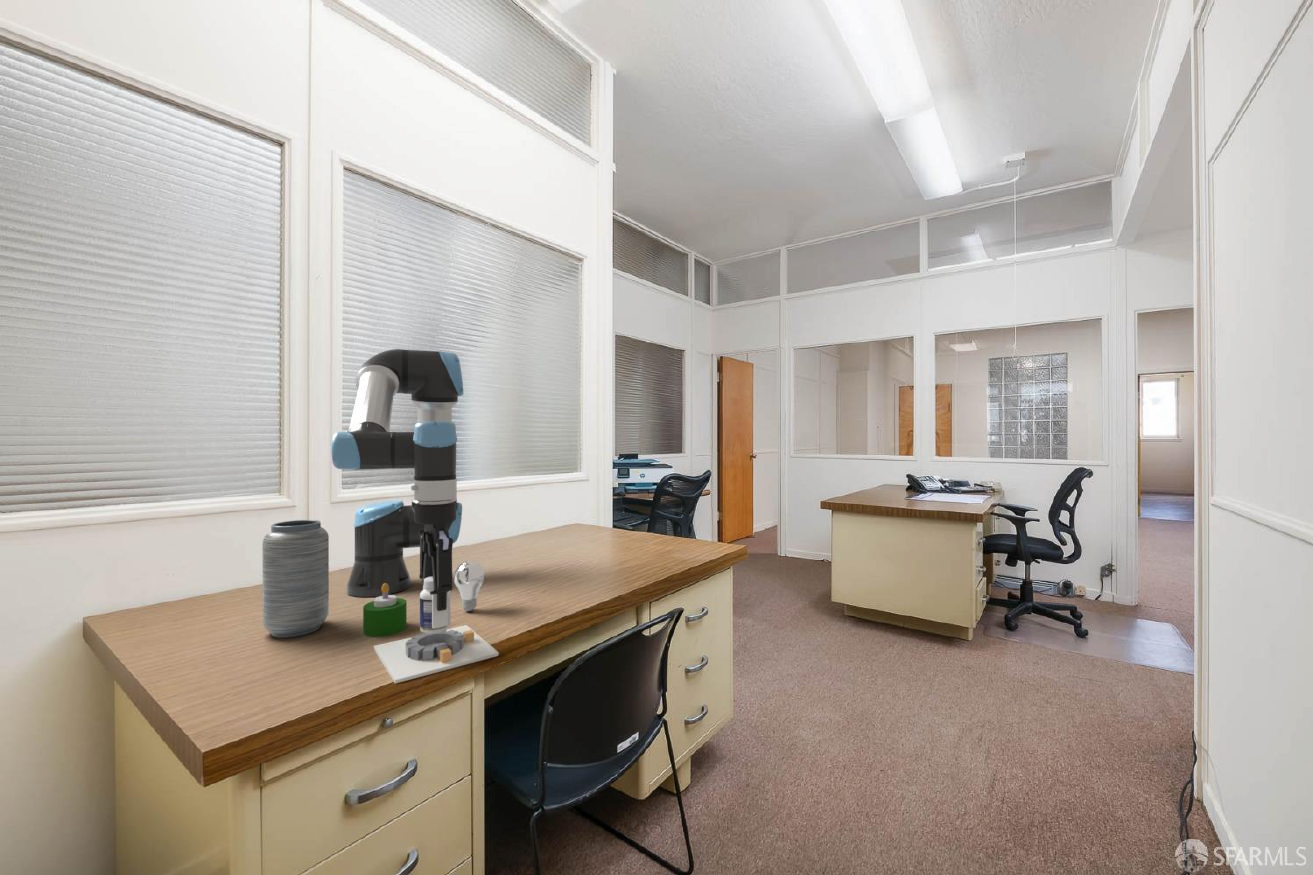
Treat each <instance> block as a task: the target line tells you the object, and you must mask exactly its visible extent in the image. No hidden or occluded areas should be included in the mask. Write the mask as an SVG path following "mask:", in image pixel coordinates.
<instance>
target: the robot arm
mask: <svg viewBox="0 0 1313 875" xmlns="http://www.w3.org/2000/svg"><path fill="white" fill-rule="evenodd" d="M355 388H356V389H357V394H356V398H355V402H354V407H353V410H352V414H351V419H350V423H349V427H348V430H345V431H337V432H335V433H334V434H333V436H332V439H331V448H330V449H331V450H330V452H331V462H332V465H333V466H334V467H335V468H336V469H339V470H355V471H360V470H381V469H383V470H384V469H385V470H387V469H394V470H395V469H414V470H413V471H414V475H413V478H414V480H413V483H414V485H411V487H410V490H411V491H414V492H413V495H414V496H413V497H412V498H411V505H405V504H404V501H403V500H398V499H396V500H388V501H381V502H375V503H374V502H373V503H371V504H366V505H364V506H360V507H359V508H358V509H357V510H356V511H355V514H354V523H353V528H354V562H353V566H352V569H351V572H350V575H349V578H348V581H347V583H346V593H347V595H349V596H352V597H360V598H363V597H364V598H365V597H366V598H368V597H370V598H371V597H379V596H382V590H381V589H382V585H383V584H384V583H387V584H388V586H389V591H388V595H393V594H395V593H399V592H402V591H404V590H407V589H408V588H409V587H410V586H411V576H410V573H409V570H408V567H407V565H406V563H405V559H404V549H410V548H411V549H413V548H419V577H418V578H419V579H420V580H421V583H422V591H423V590H424V589H425V588H424V579H425V578H427V577H431V576H433V584H434V591H431V592H430V595H432V628H433V629H434V628H439V627H443V626H448V592H449V591H450V592H451V591H453V544H455V543H456V542H457V540H458V539H459V536H460V531H461V526H462V518H463V517H462V516H463V504H462V503H461V502H458V496H457V493H458V492H457V489H458V486H457V485H458V484H457V483H458V481H457V442H458V436H457V427H456V424H455V423H454V422H453V420H452V419H453V418H452V417H453V414H452V413H453V407H455V405H457V404H458V401H459V399H458V397H462V396H464V383H463V374H462V368H461V362H460V358H459V356H458V355H457V354H456V353H454V352H446V351H441V350H438V351H435V350H419V349H418V350H417V349H403V348H394V349H388V350H385V351H382V352H379V353H377V354H376V355H373V356H371V357H370V358H368V359H367V360H366V361H365V362H364V363H363V364H362V365H361V366H360V367H359V369H358V371H357V374H356V377H355ZM397 394H405V395H407V394H408V395H410V396H411V397H410V398H411V402H412V403H413V404H414V405H415V406H416V408H417V422H416V423H415V424H414V428H413V429H414V431H390V430H391V420H392V414H393V413H392V412H393V402H394V396H396V395H397Z"/></svg>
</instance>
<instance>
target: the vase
mask: <svg viewBox="0 0 1313 875" xmlns="http://www.w3.org/2000/svg"><path fill="white" fill-rule="evenodd" d="M321 523H322V522H321V521H320V520H317V519H298V520H296V519H295V520H285V521H280V522H275V523H273V524H272V525H271V527H270V528H271V530H270V531H269V532H267V533H266V534H265V536H264V537H263V539H262V626H263V628H264V629H265V630H266V631H267V632H268V633H271V636H272V637H274V638H277V639H278V638H281V639H283V638H284V639H287V638H296V637H301V636H305V635H308V634H312V633H314V632H315V631H317V630H319V629H320V628H321V626H322V624H323V623H324V622H325V621H326V619H327V618H328V616H329V614H330V613H329V609H330V608H329V607H330V603H329V600H330V599H329V598H330V597H329V595H330V594H329V593H330V592H329V591H330V590H329V589H330V588H329V587H330V585H329V582H330V581H329V580H330V578H329V576H330V574H329V572H330V570H329V569H330V568H329V567H330V564H329V562H330V560H329V559H330V557H329V555H330V553H329V550H330V548H329V546H330V545H329V542H330V541H329V540H330V539H329V538H330V535H329V533H328V531H327V530H326V528H324V527H322V524H321Z"/></svg>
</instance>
